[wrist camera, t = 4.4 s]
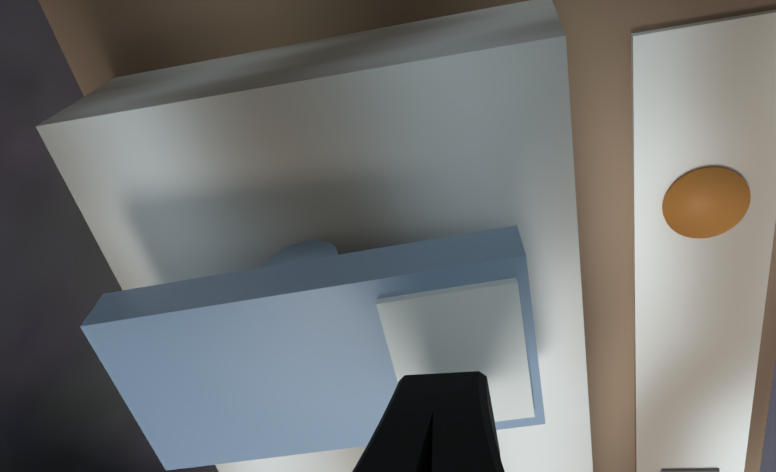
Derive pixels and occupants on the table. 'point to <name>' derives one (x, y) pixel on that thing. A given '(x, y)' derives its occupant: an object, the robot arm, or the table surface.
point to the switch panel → (466, 183)
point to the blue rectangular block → (318, 345)
